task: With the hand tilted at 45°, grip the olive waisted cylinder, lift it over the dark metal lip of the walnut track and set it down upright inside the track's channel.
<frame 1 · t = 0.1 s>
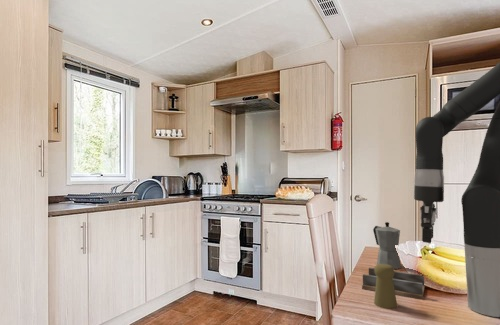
hand: (427, 240, 88), 17 cm above the table, tool pointing down, fingers open, 8 cm apart
walnut track: (393, 287, 97), on the table
olive waisted cylinder: (385, 305, 84), on the table
coffeepot: (387, 266, 123), on the table
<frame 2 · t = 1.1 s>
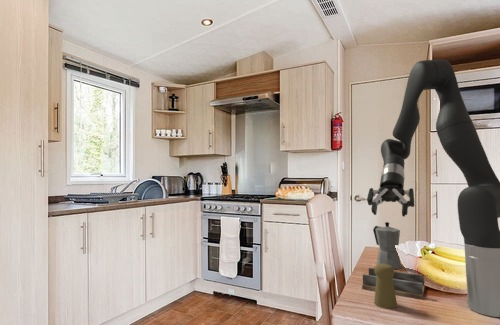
hand: (388, 214, 96), 24 cm above the table, tool tilted 45°, fingers open, 8 cm apart
nothing on the table moved.
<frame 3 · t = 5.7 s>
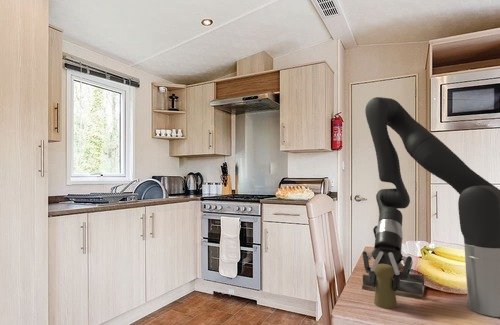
hand: (383, 287, 83), 5 cm above the table, tool tilted 45°, fingers closed on olive waisted cylinder, 5 cm apart
olive waisted cylinder: (385, 305, 84), on the table, touching gripper
everything else where it was.
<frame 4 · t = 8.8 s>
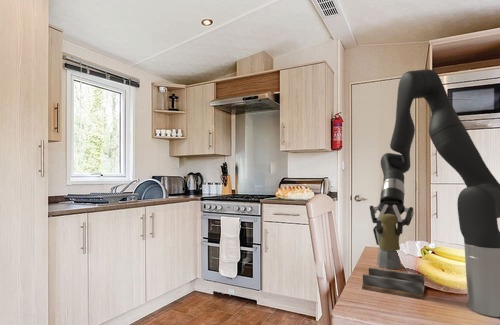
hand: (388, 233, 96), 18 cm above the table, tool tilted 45°, fingers closed on olive waisted cylinder, 5 cm apart
olive waisted cylinder: (389, 248, 97), point 13 cm above the table, touching gripper
everything else where it was.
when the fingers open (7 cm above the table, at t = 12.1 s): olive waisted cylinder drops 1 cm, resting on walnut track.
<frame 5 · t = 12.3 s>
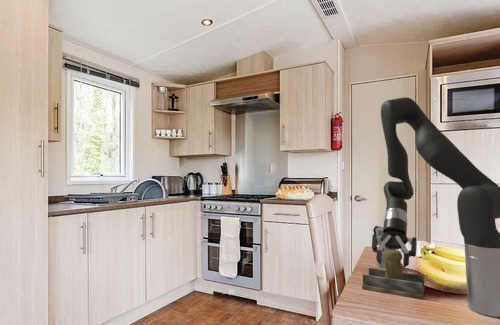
hand: (392, 264, 97), 8 cm above the table, tool tilted 45°, fingers open, 7 cm apart
olive waisted cylinder: (394, 284, 98), point 1 cm above the table, touching walnut track
everything else where it was.
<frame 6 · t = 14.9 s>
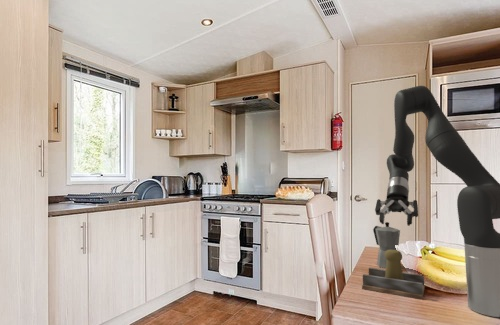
hand: (395, 223, 107), 20 cm above the table, tool tilted 45°, fingers open, 8 cm apart
nothing on the table moved.
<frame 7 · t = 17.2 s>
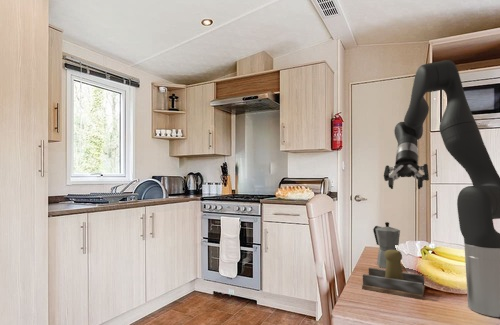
hand: (404, 187, 103), 33 cm above the table, tool tilted 45°, fingers open, 8 cm apart
nothing on the table moved.
at the end: olive waisted cylinder inside the target area on the walnut track (0.4 cm from its centre), point 0.8 cm above the walnut track's base; olive waisted cylinder tilted 0°; the gripper is holding nothing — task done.
